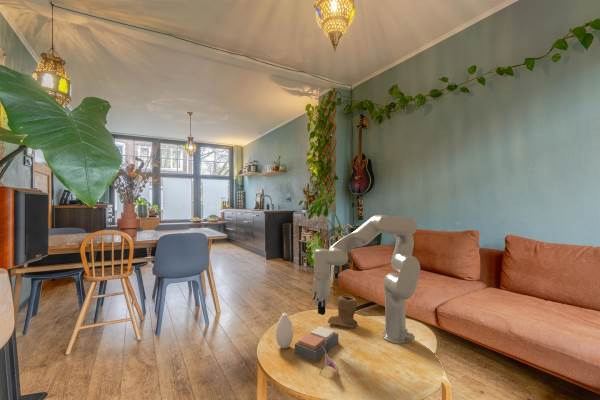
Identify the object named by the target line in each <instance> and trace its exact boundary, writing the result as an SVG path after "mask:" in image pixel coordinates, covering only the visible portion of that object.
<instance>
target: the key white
mask: <svg viewBox="0 0 600 400" xmlns="http://www.w3.org/2000/svg"><path fill="white" fill-rule="evenodd" d="M310 333H311V335H314V336H317V337H320V338H323V339H324V340H325V341H327V340H328V339H330V338H331V337H332V336H333V335H335V333H336V332H335V330H333V329H330V328H327V327H323V326H318V327H316V328H315V329H314V330H312V331H311V332H310Z"/></svg>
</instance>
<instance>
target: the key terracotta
mask: <svg viewBox="0 0 600 400" xmlns="http://www.w3.org/2000/svg"><path fill="white" fill-rule="evenodd" d="M298 342H299V345H302V346H305V347H307V348H310V349H313V350H316V349H317V348H318V347H320V346H321V345H322V344H323V343H324V339H323V338H320V337H317V336H314V335H311V334H310V333H308V334H306V335H305V336H303V337H301V338H299V340H298Z"/></svg>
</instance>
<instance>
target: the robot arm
mask: <svg viewBox="0 0 600 400" xmlns="http://www.w3.org/2000/svg"><path fill="white" fill-rule="evenodd" d="M417 224H418V223H417V221H415V219H413V218H412V217H406V216H395V215H393V216H392V215H385V214H374V215H373V216H371V217H370V218H368V220H366V221H365V222H364V223H363V224H361V225H360V226H359V227H357V229H355V230H354V231H353V232H350V233H349V234H347V235H345V236H343V237H342V238H340V239H339V240H338V241H336V242H335V243H334V244H333V245H331V246H330V247H329V248H328V249H327V248H317V249H315V250H314V254H313V256H314V257H313V258H314V259H313V260H314V263H313V267H314V269H313V270H314V271H313V277H314V278H313V281H312V288H311V299H312V301H314V305H316V306H317V314H318V315H320V316H321V315H322V316H324V315H325V314H326V305H327V300H329V298H330V296H331V266H337V267H340V266H344V265H346V264H347V262H348V259H349V256H348V254H347V253H348V252H350V251H351V250H353V249H356V248H361V247H364V246H366V245H368V244H369V243H370V242H371V241H372V240H374V239H375V238H376V237H377V236H378V235H379V234H381V233H382V234H385V235H386V234H387V235H393V236H394V237H395V244H394V250H393V252H392V256H391V260H390V266H391V268H393V270H395V271H396V272H398V273H395V272H389V273H387V274H386V275H385V276H384V277H383V282H382V284H383V291H384V306H385V307H384V308H385V309H384V310H385V311H384V315H385V316H384V318H385V319H384V321H385V324H384V325H385V328H384V329H385V330H383V332H382V333H381V336H382V338H383V339H384V340H385V341H387V342H389V343H392V344H399V345H400V344H401V345H403V344H406V343H408V342H409V341H410V340H412V341H415V339H416V337H415V335H414V333H412V332H408V328H407V327H406V325H407V323H406V320H407V319H406V300H409V299H411V298H412V297H413V296H414V294H415V291H416V289H417V285H418V281H419V277H420V272H421V263H420V261H419V259H417V257H415V256H413V250H414V244H415V241H414V236H413V234H415V233H416V232H417V229H418V225H417Z"/></svg>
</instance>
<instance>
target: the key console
mask: <svg viewBox="0 0 600 400" xmlns="http://www.w3.org/2000/svg"><path fill="white" fill-rule="evenodd" d="M309 334H311V332H310V333H309ZM338 344H339V333H337V332H335V335H333V336H332V337H331V338H330V339H328V340H327V341H325V340H324V343H323V344H322V346H323V347H322V346H320V347H318V348H317V349H316V350H313V349H310V348H307V347H305V346H302V345H299V341H297V342H296V343H295V344H294V355H296V356H298V357H300V358H303V359H305V360H308V361H310V362H313V363H315V364H316V363H318V361H320V359H322V358H323V357H325V355H326V354H328V353H329V352H330V351H332V349H334V348H335V347H336V346H337V345H338ZM323 348H324V349H325V350H324V349H323ZM325 351H326V353H325ZM324 354H325V355H324Z"/></svg>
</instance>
